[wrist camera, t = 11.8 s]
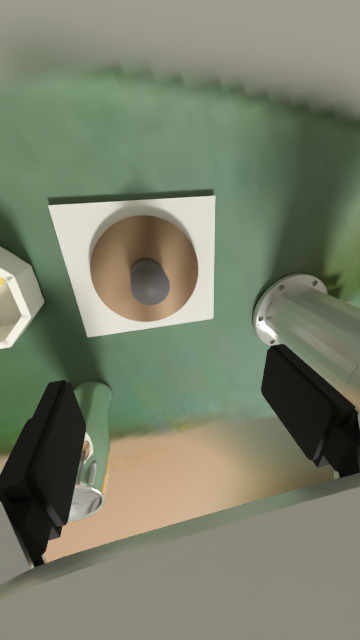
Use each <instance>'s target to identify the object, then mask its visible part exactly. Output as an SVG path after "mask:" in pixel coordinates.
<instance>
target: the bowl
mask: <svg viewBox="0 0 360 640" xmlns="http://www.w3.org/2000/svg"><path fill="white" fill-rule="evenodd" d="M0 277H2V278H3V279H5V282H4V283H3V284H2V285H1V286H0V349H2V348H8V347H11V346H12V345H13V344H14V343H15V341H16V340H17V339H18V338H19V337H20V336H21V334H22V333H23V332H24V331H25V330H26V328H27V327H28V326H29V324H30V323H31V321H32V320H33V318H34V317H35V316H36V314H37V313H38V311H39V310H40V308H41V307H42V306H43V304H44V299H43V296H42V294H41V291H40V287H39V283H38V281H37V279H36V277H35V275H34V272H33V269H32V267H31V265H29V264H28V263H26V262H24V261H23V260H21V259H20V258H19V257H17V256H16V255H14V254H13V253H11V252H10V251H8V250H6V249H4V248H2V247H0Z"/></svg>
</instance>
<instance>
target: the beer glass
mask: <svg viewBox="0 0 360 640" xmlns="http://www.w3.org/2000/svg"><path fill="white" fill-rule="evenodd" d="M73 391H74V394H75V396H76V399H77V402H78V404H79V407H80V410H81V412H82V415H83V418H84V420H85V423H86V434H85V439H84V444H83V449H82V454H81V459H80V464H79V469H78V474H77V479H76V484H75V489H74V494H73V499H72V504H71V509H70V514H69V518H68V522H74V521H78V520H82V519H85V518H87V517H90V516H92V515H93V514H95V513H97V512H98V511H99V510H100V509H101V508H102V507H103V505H104V503H105V495H106V488H107V482H108V475H109V467H110V452H111V448H110V434H109V426H108V408H109V405H110V402H111V399H112V391H111V389H110V388H109V387H108V386H107V385H106V384H104V383H102V382H98V381H88V382H84V383H81V384H79V385H78V386H77V387H76V388H75V389H74V390H73Z"/></svg>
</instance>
